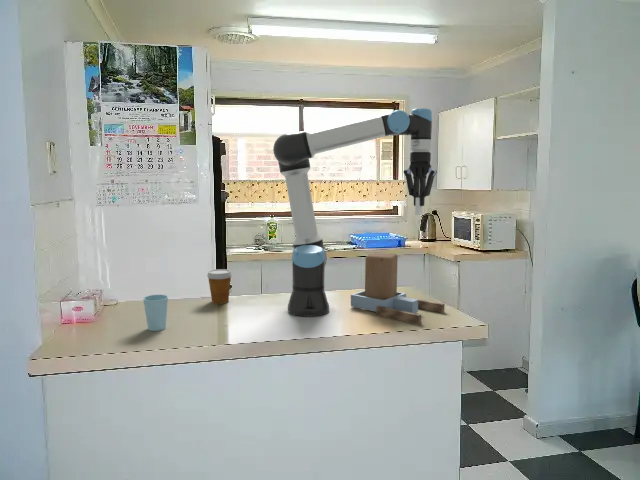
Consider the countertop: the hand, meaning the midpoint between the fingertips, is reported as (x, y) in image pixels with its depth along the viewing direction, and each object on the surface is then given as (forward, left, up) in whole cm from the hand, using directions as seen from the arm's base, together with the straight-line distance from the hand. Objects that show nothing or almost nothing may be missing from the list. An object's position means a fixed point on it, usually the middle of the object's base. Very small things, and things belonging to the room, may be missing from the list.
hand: (418, 214), depth 196 cm
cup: (-50, -82, -35) cm, 102 cm away
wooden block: (-8, -13, -35) cm, 38 cm away
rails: (+6, -14, -34) cm, 38 cm away
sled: (-4, -14, -34) cm, 37 cm away
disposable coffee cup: (-60, -47, -35) cm, 84 cm away
